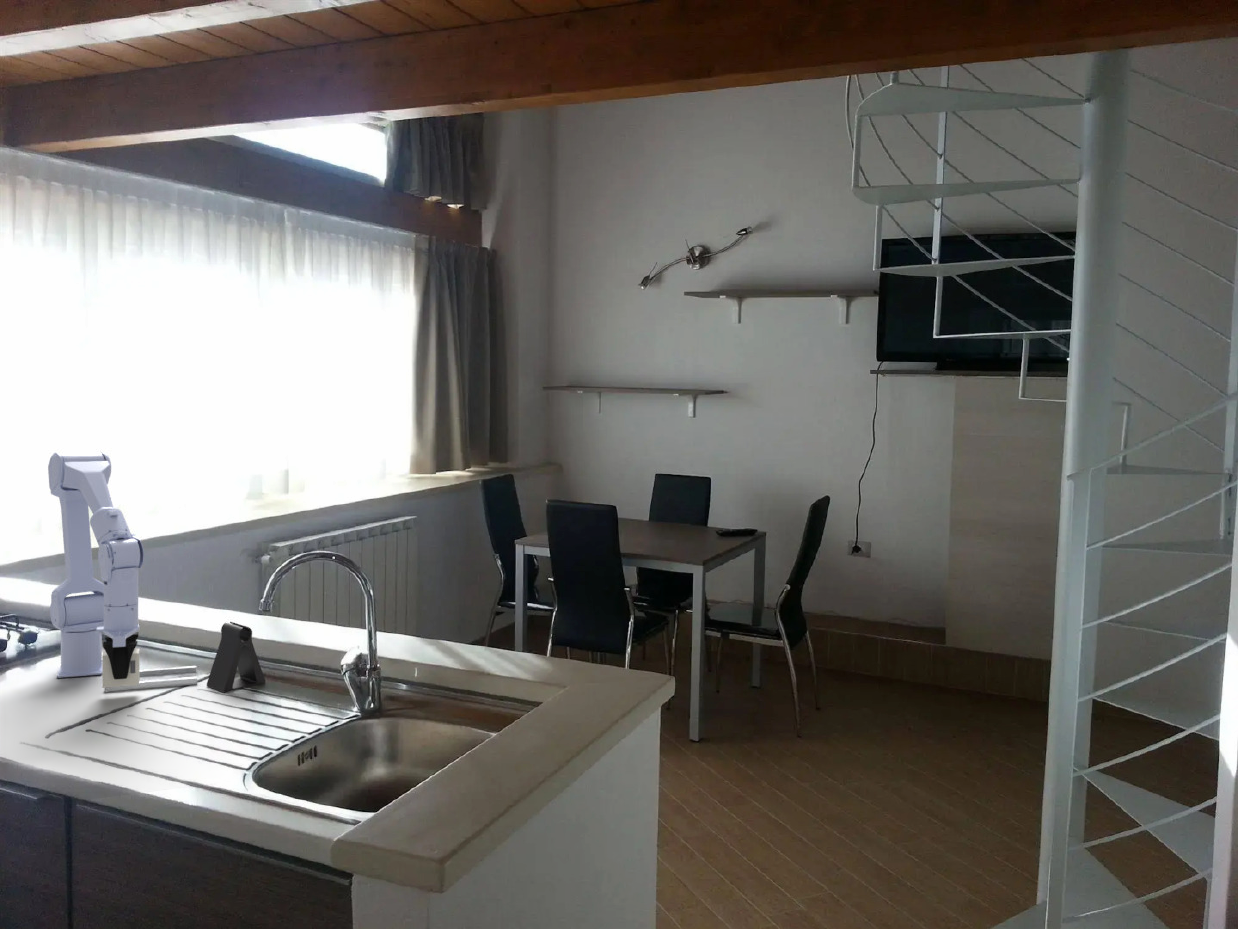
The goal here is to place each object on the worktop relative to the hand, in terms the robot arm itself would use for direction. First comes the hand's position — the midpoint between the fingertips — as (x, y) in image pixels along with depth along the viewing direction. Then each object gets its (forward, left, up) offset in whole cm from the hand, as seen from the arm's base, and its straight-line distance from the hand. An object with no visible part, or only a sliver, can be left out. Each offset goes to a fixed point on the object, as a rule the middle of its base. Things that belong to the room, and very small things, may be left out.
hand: (121, 675), depth 182 cm
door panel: (0, 0, -2) cm, 2 cm away
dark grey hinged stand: (-1, +20, -4) cm, 20 cm away
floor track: (-8, +5, -4) cm, 10 cm away
